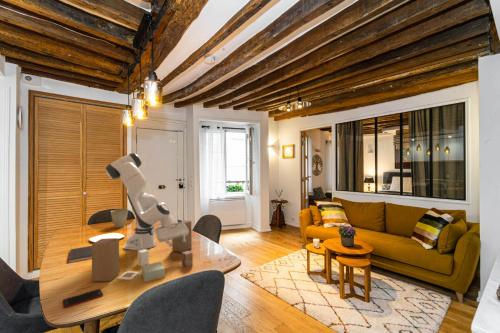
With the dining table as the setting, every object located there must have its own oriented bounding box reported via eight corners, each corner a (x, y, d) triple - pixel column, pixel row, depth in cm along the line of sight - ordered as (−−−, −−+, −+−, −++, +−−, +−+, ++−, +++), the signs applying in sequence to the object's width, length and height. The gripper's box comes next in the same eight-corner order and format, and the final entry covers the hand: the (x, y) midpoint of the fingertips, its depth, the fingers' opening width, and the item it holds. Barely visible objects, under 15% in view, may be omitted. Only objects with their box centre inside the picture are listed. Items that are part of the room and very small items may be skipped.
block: (192, 248, 175) (191, 220, 175) (182, 253, 166) (182, 223, 166) (181, 246, 179) (181, 219, 179) (171, 250, 170) (171, 222, 170)
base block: (141, 274, 134) (141, 265, 134) (160, 270, 140) (160, 261, 140) (144, 282, 126) (144, 272, 126) (164, 277, 131) (164, 268, 131)
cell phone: (62, 301, 108) (62, 299, 108) (100, 290, 118) (100, 288, 118) (63, 309, 103) (63, 307, 103) (103, 297, 112) (103, 294, 112)
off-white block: (137, 264, 148) (137, 251, 148) (145, 261, 152) (145, 249, 151) (141, 266, 145) (141, 252, 145) (148, 263, 149) (148, 250, 149)
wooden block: (101, 273, 135) (101, 238, 135) (120, 272, 136) (119, 237, 136) (91, 282, 125) (90, 244, 125) (111, 281, 126) (111, 243, 126)
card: (117, 279, 129) (117, 277, 129) (126, 272, 137) (126, 270, 137) (131, 279, 128) (131, 278, 128) (139, 273, 136) (139, 271, 136)
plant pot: (107, 228, 229) (107, 211, 229) (118, 224, 244) (118, 208, 244) (121, 229, 227) (121, 212, 226) (131, 225, 241) (131, 209, 241)
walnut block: (181, 266, 145) (181, 252, 145) (188, 263, 148) (188, 250, 148) (186, 268, 142) (186, 254, 142) (192, 265, 145) (192, 252, 145)
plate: (99, 246, 181) (99, 243, 181) (84, 241, 193) (84, 238, 193) (129, 238, 200) (129, 235, 200) (113, 234, 213) (113, 231, 213)
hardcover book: (97, 248, 178) (96, 244, 178) (98, 258, 159) (98, 254, 159) (69, 252, 169) (69, 249, 169) (67, 263, 150) (67, 260, 150)
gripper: (155, 225, 147) (163, 245, 141) (184, 219, 162) (193, 237, 156) (152, 231, 150) (160, 250, 144) (181, 225, 165) (189, 242, 159)
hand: (177, 243), depth 150 cm, fingers open, 8 cm apart
